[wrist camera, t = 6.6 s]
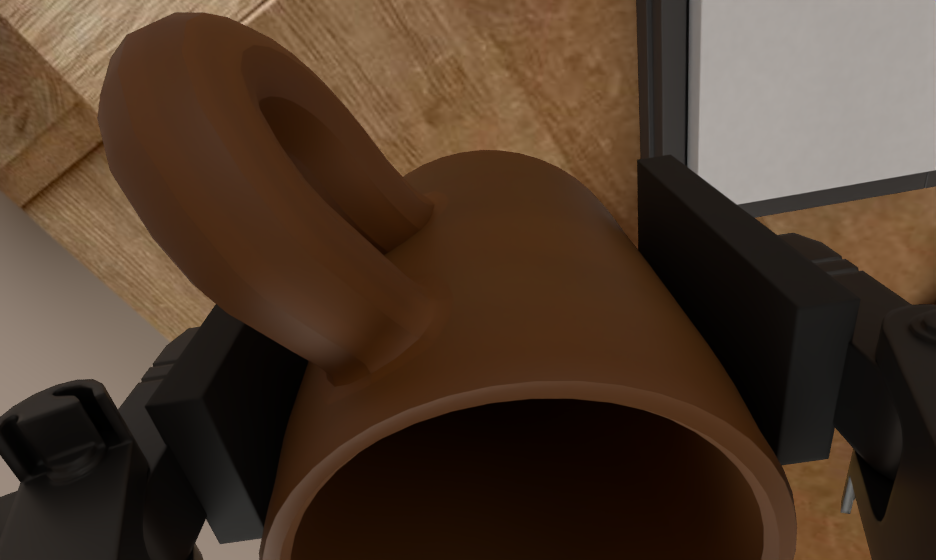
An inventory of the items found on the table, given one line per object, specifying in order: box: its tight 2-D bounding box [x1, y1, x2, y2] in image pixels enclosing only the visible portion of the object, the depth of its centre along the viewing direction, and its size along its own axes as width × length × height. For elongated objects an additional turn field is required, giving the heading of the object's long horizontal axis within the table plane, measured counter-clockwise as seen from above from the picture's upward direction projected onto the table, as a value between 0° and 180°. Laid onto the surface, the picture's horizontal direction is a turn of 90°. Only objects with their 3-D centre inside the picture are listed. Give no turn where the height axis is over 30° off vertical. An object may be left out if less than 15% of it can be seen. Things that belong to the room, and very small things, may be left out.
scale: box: [636, 0, 936, 218], centre depth 29 cm, size 16×16×3 cm
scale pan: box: [687, 0, 936, 205], centre depth 27 cm, size 13×13×2 cm
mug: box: [98, 13, 797, 560], centre depth 11 cm, size 12×8×9 cm, turn 32°
